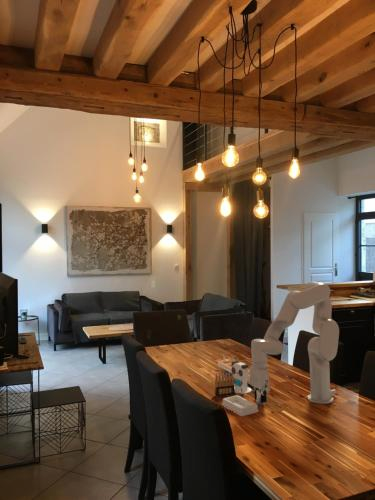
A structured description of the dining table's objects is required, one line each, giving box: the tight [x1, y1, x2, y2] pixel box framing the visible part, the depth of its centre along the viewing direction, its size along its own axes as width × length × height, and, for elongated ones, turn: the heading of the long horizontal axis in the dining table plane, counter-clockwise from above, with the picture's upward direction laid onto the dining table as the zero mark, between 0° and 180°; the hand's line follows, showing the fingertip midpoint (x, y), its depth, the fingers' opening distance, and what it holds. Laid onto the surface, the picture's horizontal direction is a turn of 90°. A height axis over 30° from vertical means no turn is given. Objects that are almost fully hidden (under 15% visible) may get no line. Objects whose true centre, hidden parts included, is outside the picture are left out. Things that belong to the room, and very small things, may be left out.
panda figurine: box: [230, 360, 253, 395], centre depth 236 cm, size 12×11×15 cm
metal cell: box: [256, 389, 266, 407], centre depth 213 cm, size 4×4×8 cm
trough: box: [221, 394, 259, 417], centre depth 208 cm, size 10×16×4 cm, turn 30°
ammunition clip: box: [214, 371, 236, 397], centre depth 228 cm, size 11×2×12 cm, turn 104°
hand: (260, 400), depth 213 cm, fingers closed on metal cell, 4 cm apart
